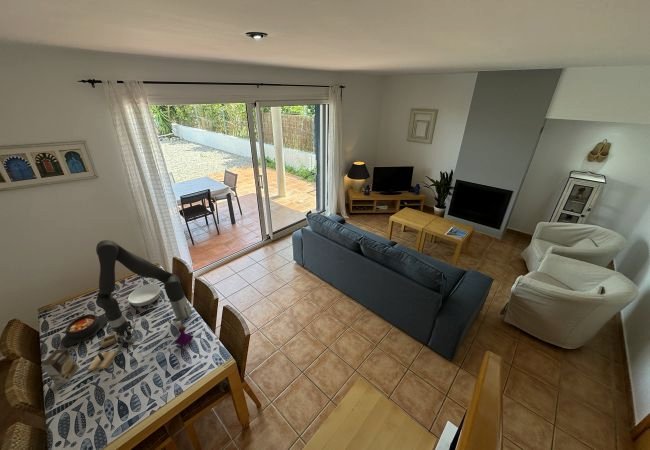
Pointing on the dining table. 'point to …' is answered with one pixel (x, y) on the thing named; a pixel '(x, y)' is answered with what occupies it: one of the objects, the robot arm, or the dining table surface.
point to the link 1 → (108, 340)
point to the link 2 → (129, 339)
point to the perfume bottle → (183, 335)
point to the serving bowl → (144, 295)
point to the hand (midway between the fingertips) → (128, 340)
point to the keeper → (103, 360)
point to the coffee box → (60, 366)
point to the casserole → (83, 328)
